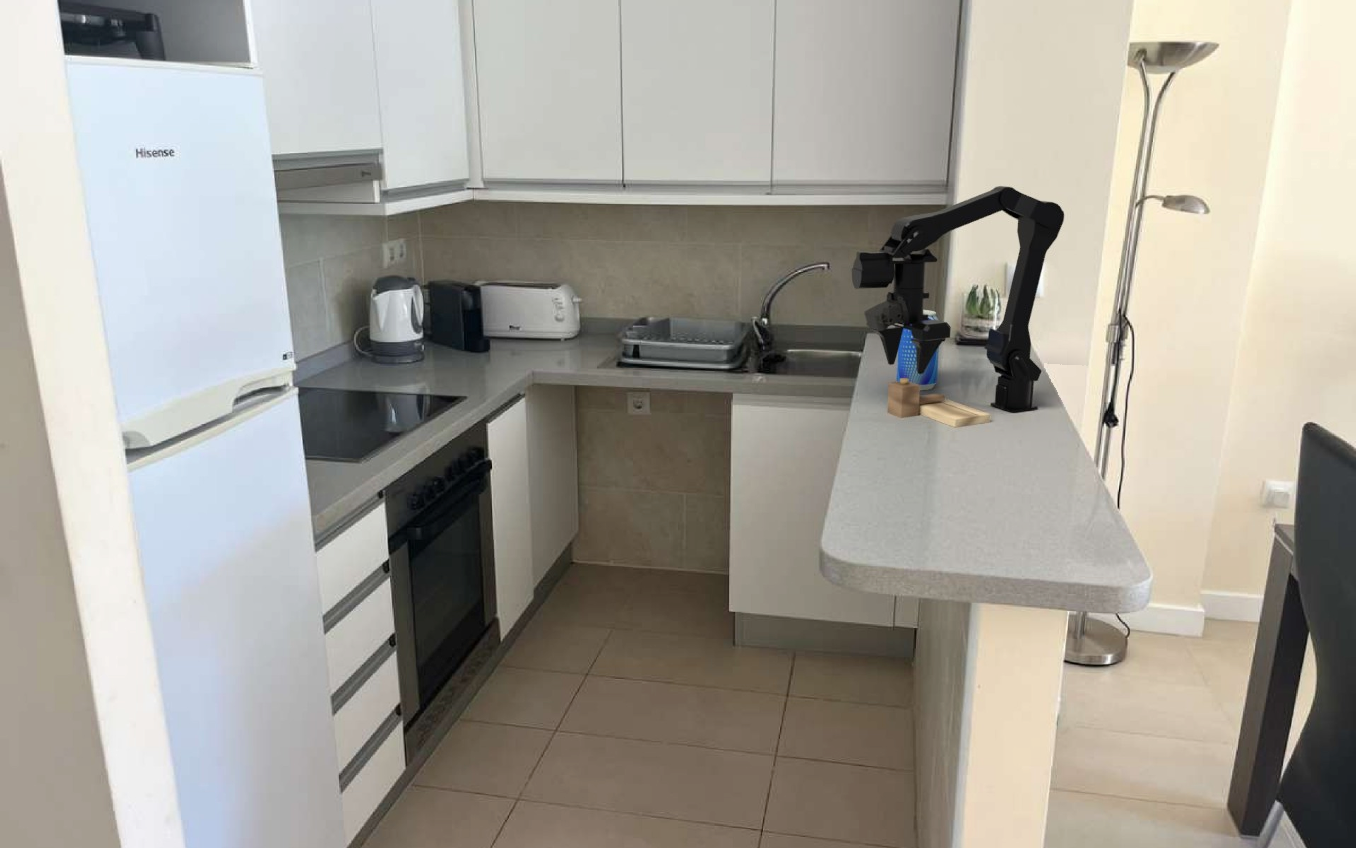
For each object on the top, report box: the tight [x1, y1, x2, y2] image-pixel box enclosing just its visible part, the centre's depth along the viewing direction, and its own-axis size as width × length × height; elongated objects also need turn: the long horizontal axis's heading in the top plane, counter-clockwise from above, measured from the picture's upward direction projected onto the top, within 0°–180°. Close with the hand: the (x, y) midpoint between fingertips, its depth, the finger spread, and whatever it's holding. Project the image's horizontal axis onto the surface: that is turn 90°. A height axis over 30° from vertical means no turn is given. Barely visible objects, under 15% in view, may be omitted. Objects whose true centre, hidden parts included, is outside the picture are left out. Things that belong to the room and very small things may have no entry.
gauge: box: [886, 378, 946, 419], centre depth 193 cm, size 11×4×7 cm, turn 114°
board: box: [918, 398, 991, 428], centre depth 191 cm, size 8×16×2 cm, turn 24°
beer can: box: [896, 309, 940, 391], centre depth 211 cm, size 8×8×16 cm
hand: (905, 368), depth 190 cm, fingers open, 9 cm apart
